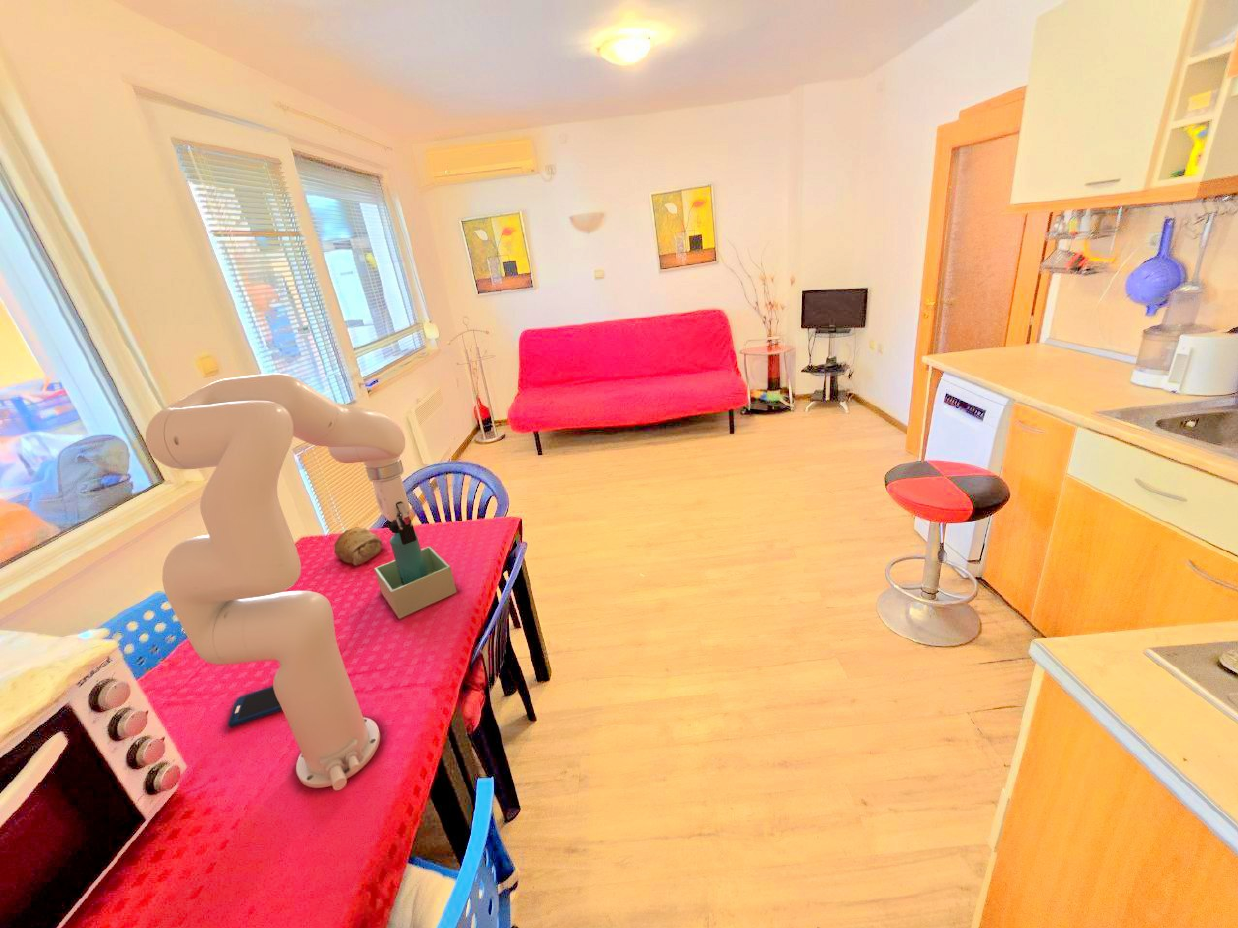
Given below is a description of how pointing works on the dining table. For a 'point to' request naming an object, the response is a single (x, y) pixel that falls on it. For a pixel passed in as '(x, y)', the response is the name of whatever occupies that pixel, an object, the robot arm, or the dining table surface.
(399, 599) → the bin
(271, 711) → the cell phone
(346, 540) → the pastry
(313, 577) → the dining table surface
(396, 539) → the beverage bottle
